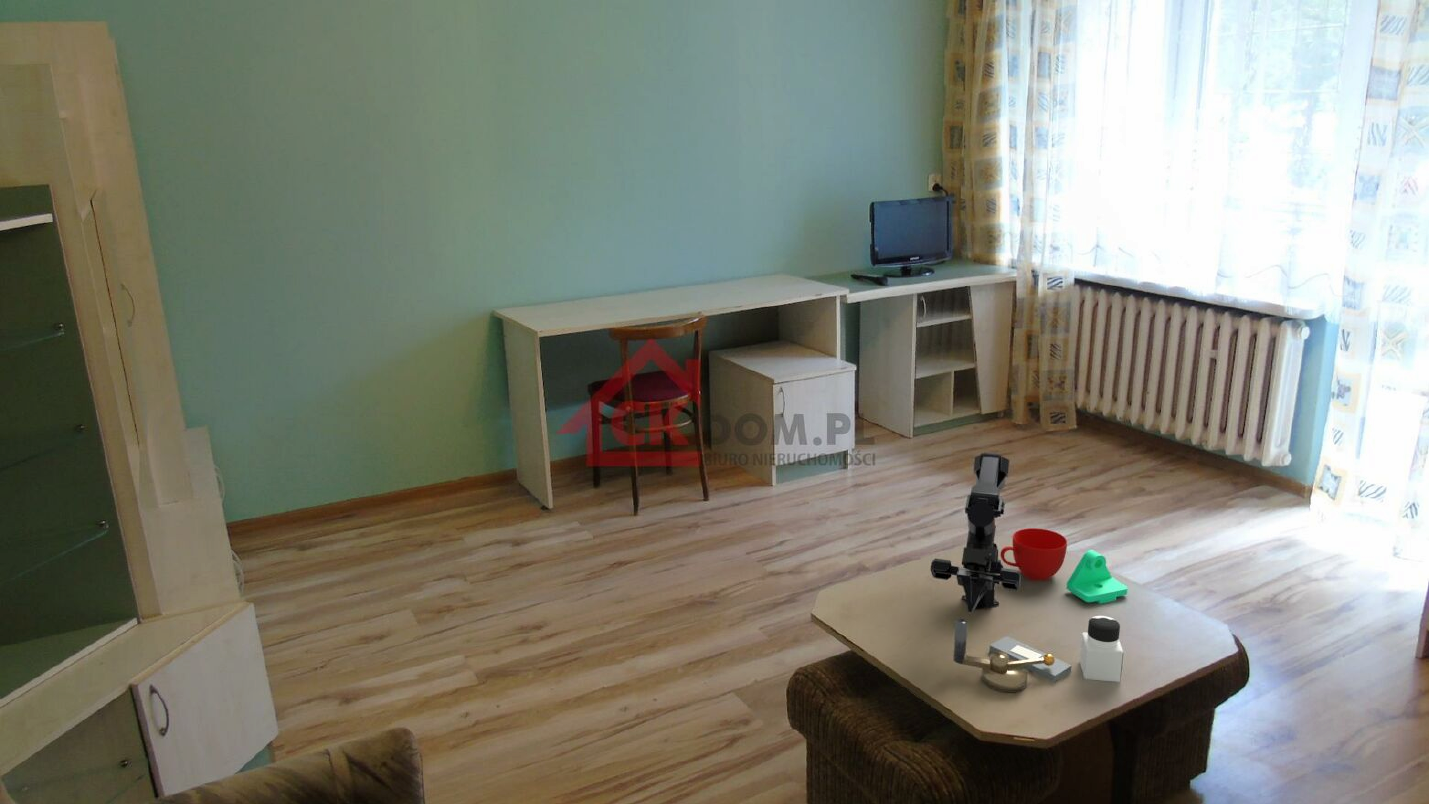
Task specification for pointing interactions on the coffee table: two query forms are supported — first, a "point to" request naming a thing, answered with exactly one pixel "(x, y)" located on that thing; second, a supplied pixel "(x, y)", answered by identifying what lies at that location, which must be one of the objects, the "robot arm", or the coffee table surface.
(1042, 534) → the ceramic cup
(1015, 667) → the crank handle
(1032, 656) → the plate
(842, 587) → the coffee table surface
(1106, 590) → the camera mount
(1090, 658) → the medicine bottle
